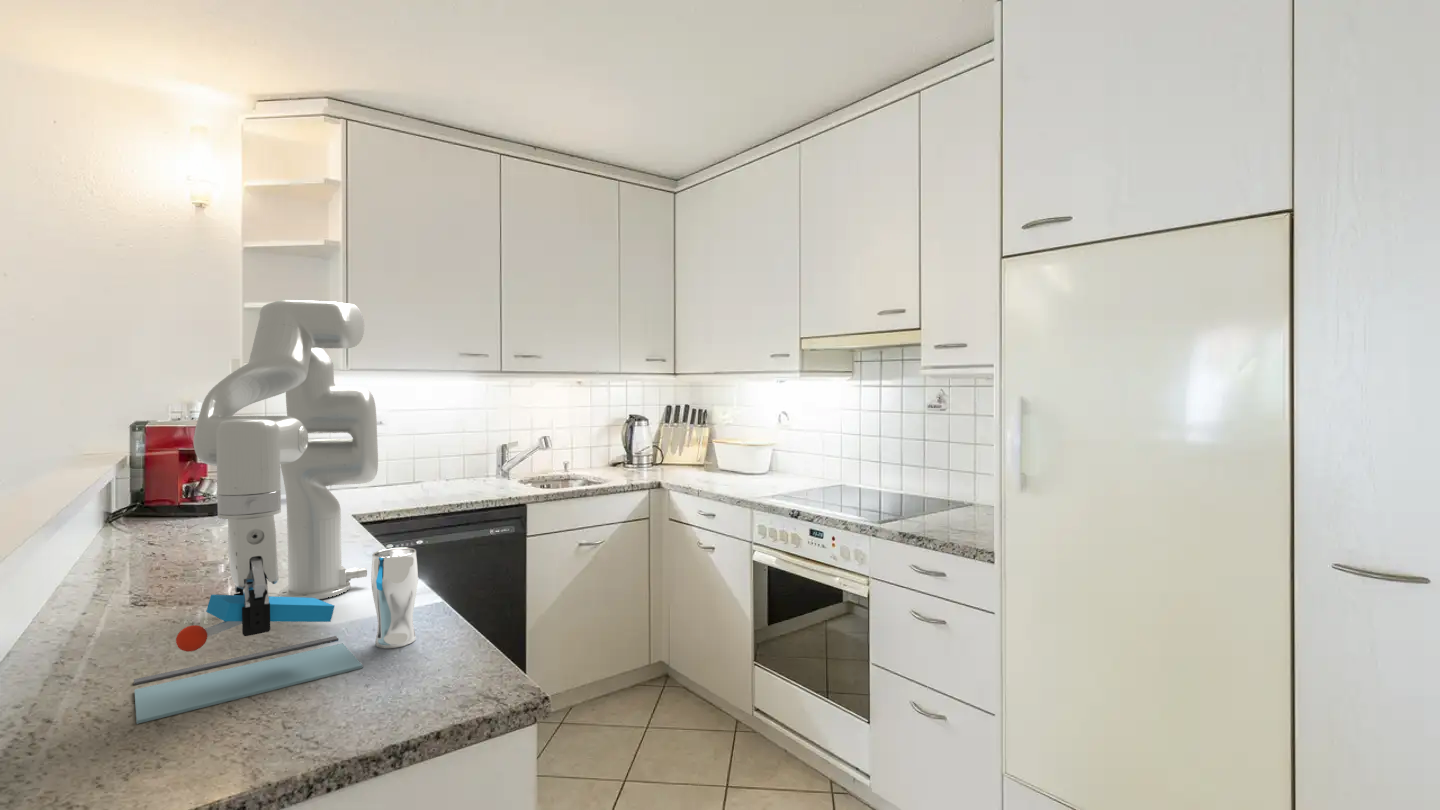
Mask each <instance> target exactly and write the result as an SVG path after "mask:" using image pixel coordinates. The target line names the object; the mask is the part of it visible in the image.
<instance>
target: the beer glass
mask: <svg viewBox="0 0 1440 810" xmlns="http://www.w3.org/2000/svg"><path fill="white" fill-rule="evenodd" d="M370 577H371V579H370V580H371V581H370V582H371V590H372V591H371V592H372V593H371V594H372V597H373V598H372V599H373V603H374V608H375V613H376V618H377V630H376V636H375V641H374V643H375V646H376V648H377V647H378V648H380V649H397V648H401V647H406V646H408V645H411V644H412V643H414V642H415V641H416V637H417V636H416V631H415V628H414V608H415V603H416V598H417V597H416V596H417V592H418V582H419V579H418V578H419V573H418V559H417V549H415V548H412V547H393V548H387V549H382V550H378V551H375V552H373V553H372V559H371V576H370Z"/></svg>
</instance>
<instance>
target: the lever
mask: <svg viewBox="0 0 1440 810" xmlns="http://www.w3.org/2000/svg"><path fill="white" fill-rule="evenodd" d="M268 596H269V595H268ZM249 598H250V597H249ZM269 603H270V623H271V622H274V623H275V622H278V623H280V622H283V623H284V622H285V623H286V622H291V623H295V622H296V623H297V622H299V623H300V622H301V623H302V622H305V623H306V622H307V623H310V622H312V623H329V622H331V620H332V617H333V615H334V614H333V613H334V610H335V605H334V604H332V603H328V602H326V601H324V600H322V599H316V598H305V597H279V596H269ZM242 607H245V605H244V596H243V595H234V594H211V595H210V597H209V601H208V604H207V608H206V611H205V612H206V613H208V614H210V615H212V616H213V617H215V618H218V619H220V620H221V622H219V623H215V624H214V625H211V626H208V627H206V628H205V627H203V626H201V625H199V624H198V625H192V624H191V625H188V626H185V627H184V628H183V629H181V630H180V631H179V633H178V634H177V635H176V638H175V643H176V646H177V647H178V649H179V650H181V651H183V652H194V651H197V650H199V649H201V648H202V647H203V646H204V645H206V642H207V639H208V638H209V637H211V636H214V635H216V634H217V635H218V634H219V633H222V632H224V631H227V630H230V629H232V628H235V627H237V626H240V625H242Z"/></svg>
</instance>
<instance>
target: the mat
mask: <svg viewBox="0 0 1440 810" xmlns="http://www.w3.org/2000/svg"><path fill="white" fill-rule="evenodd" d="M363 666H364V665H363V664H362V663H361V662H360V661H359V660H358V658H357V657H356V656H355V655H354V654H353V653H352V651H350V649H348V647H347V646H346V645H345V644H344V643H337V644H333V645H328V646H324V647H319V648H315V649H312V650H306V651H302V652H298V653H294V654H288V655H284V656H279V657H276V658H270V659H266V660H262V661H258V662H257V661H256V662H251V663H247V664H243V665H239V666H234V667H230V668H225V669H221V670H216V671H212V672H207V673H203V674H198V675H193V676H190V677H185V678H181V679H175V680H170V681H166V682H162V683H159V684H158V683H157V684H153V685H149V686H144V687H139V688H135V689H134V701H135V702H134V706H135V718H136V724H137V725H139V724H141V723H147V722H150V721H155V720H158V719H159V720H160V719H161V718H165V717H170V716H175V715H179V714H182V713H186V712H191V711H195V710H198V709H202V708H206V707H210V706H215V705H218V704H223V703H226V702H227V703H228V702H230V701H235V700H239V699H243V698H247V697H251V696H255V695H258V694H262V693H263V694H264V693H267V692H271V691H276V690H279V689H283V688H287V687H291V686H295V685H299V684H304V683H307V682H311V681H315V680H319V679H324V678H327V677H331V676H332V677H333V676H335V675H340V674H344V673H347V672H348V673H349V672H352V671H354V670H360V669H363V668H364V667H363Z"/></svg>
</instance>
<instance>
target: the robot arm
mask: <svg viewBox="0 0 1440 810" xmlns="http://www.w3.org/2000/svg"><path fill="white" fill-rule="evenodd" d="M364 321H365V319H364V316H363V313H362V311H361V310H360V308H359V307H358V306H357V305H355V304H354V303H345V302H337V301H325V300H323V301H322V300H321V301H319V300H298V299H296V300H295V299H285V300H284V299H282V300H275V301H273V302H269V303H266V304H265V305H263V306H262V307H261V309H260V311H259V319H258V323H257V326H256V331H255V334H254V338H253V339H254V340H253V343H252V347H251V350H250V351H251V352H250V355H249V360H248V363H246V364H244V365H242V366H241V367H239V368H237V369H235V370H234V371H232V372H230V373H229V374H228V375H226V377H224V378H223V379H221V380H220V381H219V382H218V383H217V384H215V385H214V386H213V387H212V388H211V389H210V390H209V392H208V393H207V394H206V396H205V397H204V399H203V402H202V404H201V408H200V411H199V415H198V418H197V421H196V426H195V429H194V436H193V448H194V449H193V450H194V452H195V453H194V454H195V455H196V457H197V458H198V459H199V461H201V462H202V463H203V464H206V465H209V466H214V467H215V466H216V479H217V481H216V485H217V486H216V488H217V490H216V491H217V497H216V498H217V499H216V500H217V518H218V519H222V520H227V541H228V542H227V545H228V560H229V561H228V562H229V564H228V565H229V572H230V577H231V579H232V582H233V583H234V592H235V593H233V595H243V596H244V605H245V607H242V624H241V627H242V628H241V629H242V630H241V631H242V632H241V634H242V635H243V636H244V637H250V636H255V635H258V634H259V635H261V634H264V633H269V632H270V631H271V622H270V603H269V590H268V589H269V588H268V582H269V583H271V584H272V585H276V584H277V583H278V582H279V580H280V579H279V578H280V577H279V576H280V575H279V563H278V561H279V560H278V559H279V558H278V542H277V531H276V521H275V517H274V516H275V515H278V514H281V512H282V504H281V503H282V500H281V498H282V497H281V494H282V493H281V473H282V479H283V485H284V489H285V500H286V503H285V504H286V528H287V529H286V530H287V531H286V535H287V536H286V537H287V539H286V540H287V586H285V587H283V588H281V589H280V591H279V592H278V593H279V594H278V597H305V598H316V599H319V600H324V599H329V598H333V597H336V595H337V596H340V595H341V593H342V594H344V593H343V592H345V593H346V592H348V591H349V590H350V589H351V582H350V581H351V580H352V579H360V578H366V577H368V568H367V567H362V568H358V567H353V568H345V567H344V566H343V565H342V516H341V515H342V514H341V511H342V510H341V506H340V502H339V500H338V499H337V498H336V496H335V495H334V494H333V493H332V492H331V491H330V490H329V489H328V487H330V486H338V485H339V486H344V485H345V486H346V485H361V484H367V483H371V482H372V481H374V479H375V478H376V477H377V474H378V470H379V451H378V424H377V407H376V406H377V405H376V403H375V398H374V395H373V394H372V392H371V391H370V390H369V389H367V388H365V387H360V386H337V385H336V384H335V376H334V375H335V374H334V362H333V360H332V359H331V357H330V355H329V354H328V352H327V351H326V350H325V349H345V350H346V349H347V350H348V349H352V348H355V347H357V346H358V345H359V344H360V343H361V341H362V339H363V337H364V334H365V333H364V332H365V322H364ZM282 394H285V403H286V415H234V414H236V413H237V412H239V411H241V410H242V409H244V408H246V407H248V406H251V405H252V404H256V403H257V402H261V401H264V400H268V399H270V398H273V397H277V396H280V395H282ZM309 434H349V435H350V436H351V438H334V439H333V438H322V439H321V438H319V439H318V438H316V439H313V438H312V439H309ZM347 590H348V591H347ZM339 594H340V595H339ZM332 596H333V597H332ZM249 597H250V598H249ZM328 597H329V598H328Z"/></svg>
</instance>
